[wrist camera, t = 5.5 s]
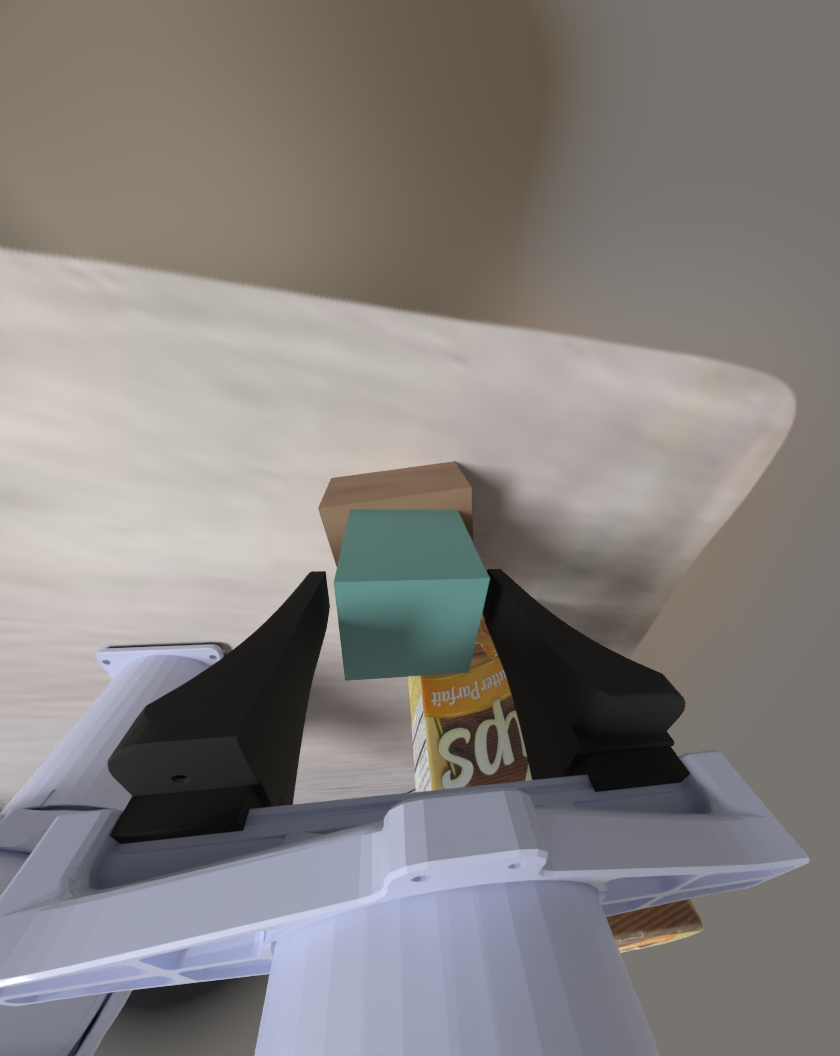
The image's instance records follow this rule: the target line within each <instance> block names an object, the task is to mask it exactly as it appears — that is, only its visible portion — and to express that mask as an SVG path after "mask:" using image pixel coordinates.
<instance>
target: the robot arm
mask: <svg viewBox="0 0 840 1056" xmlns="http://www.w3.org/2000/svg"><path fill="white" fill-rule="evenodd" d="M487 573H488V575H489V577H490V581H489V585H488V589H487V594H486V598H485V603H484V607H483V616H484V620H485V624H486V626H487V629H488V631H489V634H490V636H491V639H492V641H493V644H494V646H495V649H496V651H497V654H498V656H499V659H500V661H501V664H502V666H503V669H504V672H505V675H506V678H507V681H508V685H509V688H510V691H511V695H512V698H513V702H514V706H515V710H516V713H517V717H518V721H519V725H520V729H521V733H522V737H523V741H524V746H525V750H526V754H527V759H528V764H529V768H530V773H531V778H532V780H530V781H520V782H510V783H501V784H491V785H481V786H471V787H461V788H452V789H442V790H432V791H422V792H412V793H403V794H393V795H383V796H373V797H363V798H353V799H344V800H334V801H324V802H314V803H304V804H295V805H293V798H294V791H295V783H296V776H297V768H298V762H299V755H300V748H301V741H302V735H303V729H304V723H305V717H306V711H307V705H308V699H309V694H310V688H311V684H312V680H313V676H314V672H315V669H316V665H317V661H318V658H319V654H320V651H321V647H322V643H323V640H324V636H325V632H326V629H327V622H328V616H329V608H330V605H329V596H328V588H327V580H326V571H323V572H310V573H309V574H308V575H307V576H306V578H305V579H304V580H303V581H302V582H301V584H300V585H299V586H298V587H297V589H296V590H295V591H294V592H293V593H292V594H291V596H290V597H289V598H288V599H287V600H286V601H285V602H284V603H283V604H282V606H281V607H280V608H279V609H278V610H277V611H276V612H275V613H274V614H273V615H272V616H271V617H270V618H269V619H268V620H267V621H266V622H265V623H264V624H263V625H262V626H261V627H260V628H259V629H257V630H256V631H255V632H254V633H253V634H252V635H251V636H249V637H248V638H247V639H246V640H245V641H244V642H242V643H241V644H240V645H239V646H237V647H236V648H235V649H233V650H232V651H231V652H229V653H228V654H227V655H226V656H224V655H223V652H222V650H221V648H220V647H219V646H218V645H215V644H207V645H182V646H156V647H131V648H105V649H101V650H99V651H98V652H97V653H96V654H95V657H96V659H97V660H98V661H99V663H100V664H101V665H102V667H103V668H104V669H105V671H106V672H107V674H108V675H109V676H110V678H111V679H112V681H111V682H110V683H109V685H108V686H107V687H106V688H105V689H104V691H103V692H102V693H101V694H100V695H99V696H98V698H97V699H96V700H95V701H94V702H93V704H92V705H91V706H90V707H89V708H88V710H87V711H86V712H85V713H84V714H83V715H82V717H81V718H80V719H79V720H78V721H77V723H76V724H75V725H74V726H73V727H72V729H71V730H70V731H69V732H68V733H67V735H66V736H65V737H64V738H63V739H62V740H61V742H60V743H59V744H58V745H57V746H56V748H55V749H54V750H53V751H52V752H51V754H50V755H49V756H48V757H47V758H46V759H45V761H44V762H43V763H42V764H41V765H40V767H39V768H38V769H37V770H36V771H35V773H34V774H33V775H32V776H31V777H30V778H29V780H28V781H27V782H26V783H25V784H24V786H23V787H22V788H21V789H20V790H19V792H18V793H17V794H16V795H15V796H14V797H13V799H12V800H11V801H10V802H9V803H8V805H7V806H6V807H5V808H4V809H3V811H2V812H1V813H0V1056H93V1054H94V1052H95V1051H96V1049H97V1047H98V1045H99V1044H100V1042H101V1040H102V1038H103V1037H104V1035H105V1033H106V1032H107V1030H108V1028H109V1027H110V1026H111V1024H112V1023H113V1021H114V1020H115V1018H116V1017H117V1015H118V1014H119V1012H120V1010H121V1009H122V1007H123V1005H124V1004H125V1002H126V1000H127V998H128V997H129V995H130V993H131V991H132V990H135V989H143V988H152V987H160V986H169V985H178V984H186V983H195V982H203V981H212V980H221V979H229V978H238V977H246V976H254V975H264V974H270V975H269V981H268V986H267V991H266V997H265V1003H264V1007H263V1013H262V1018H261V1024H260V1029H259V1034H258V1040H257V1045H256V1050H255V1056H660V1054H659V1051H658V1049H657V1046H656V1044H655V1041H654V1039H653V1036H652V1033H651V1031H650V1029H649V1026H648V1024H647V1021H646V1018H645V1016H644V1013H643V1010H642V1008H641V1005H640V1003H639V1000H638V998H637V995H636V993H635V990H634V987H633V985H632V982H631V980H630V977H629V975H628V972H627V970H626V967H625V965H624V962H623V959H622V957H621V954H620V952H619V949H618V947H617V944H616V941H615V939H614V936H613V934H612V931H611V929H610V926H609V924H608V921H607V918H606V917H607V916H612V915H616V914H621V913H625V912H630V911H635V910H639V909H644V908H649V907H653V906H658V905H662V904H667V903H672V902H676V901H681V900H686V899H691V898H695V897H700V896H705V895H711V894H717V893H722V892H728V891H733V890H739V889H745V888H750V887H753V886H755V885H758V884H760V883H762V882H765V881H767V880H769V879H772V878H774V877H777V876H778V875H781V874H783V873H786V872H788V871H791V870H793V869H795V868H797V867H800V866H802V865H805V864H807V863H809V857H808V856H807V855H806V854H805V853H804V851H803V850H802V849H801V848H800V847H799V845H798V844H797V843H796V842H795V841H794V840H793V838H792V837H791V836H790V835H789V834H788V833H787V831H786V830H785V829H784V828H783V826H782V825H781V824H780V823H779V822H778V821H777V819H776V818H775V817H774V816H773V815H772V813H771V812H770V811H769V810H768V809H767V808H766V806H765V805H764V804H763V803H762V802H761V801H760V799H759V798H758V797H757V796H756V794H755V793H754V792H753V791H752V790H751V788H750V787H749V786H748V785H747V784H746V783H745V781H744V780H743V779H742V778H741V777H740V775H739V774H738V773H737V772H736V771H735V770H734V769H733V767H732V766H731V765H730V764H729V762H728V761H727V760H726V759H725V758H724V757H723V755H722V754H721V753H720V752H719V751H716V750H713V751H702V752H692V753H687V754H683V755H681V756H679V757H678V756H677V755H676V753H675V752H674V751H673V749H672V748H671V746H673V745H674V741H673V739H672V738H671V737H670V735H669V734H668V733H667V730H668V729H669V728H670V727H671V726H672V724H673V723H674V722H675V721H676V720H677V719H678V718H679V717H680V715H681V714H682V713H683V711H684V708H685V700H684V698H683V697H682V696H681V694H680V693H679V692H678V691H677V690H676V689H675V688H674V686H673V685H672V684H671V683H670V682H669V681H668V680H667V679H666V678H665V676H664V675H663V674H662V673H659V672H657V671H654V670H652V669H650V668H648V667H645V666H643V665H641V664H638V663H636V662H634V661H632V660H630V659H628V658H626V657H624V656H622V655H620V654H618V653H616V652H614V651H612V650H610V649H608V648H606V647H604V646H602V645H600V644H599V643H597V642H595V641H593V640H592V639H590V638H588V637H587V636H585V635H583V634H582V633H580V632H578V631H577V630H575V629H574V628H572V627H571V626H569V625H568V624H566V623H565V622H563V621H562V620H560V619H559V618H558V617H556V616H555V615H554V614H552V613H551V612H550V611H548V610H547V609H546V608H544V607H543V606H542V605H541V604H539V603H538V602H537V601H536V600H535V599H533V598H532V597H531V596H530V595H529V594H528V593H526V592H525V591H524V590H523V589H522V588H521V587H520V586H519V585H518V584H516V583H515V582H514V581H513V580H512V579H511V578H510V577H509V576H508V575H506V574H505V573H504V572H503V571H502V570H501V569H487Z"/></svg>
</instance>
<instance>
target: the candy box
mask: <svg viewBox="0 0 840 1056" xmlns="http://www.w3.org/2000/svg"><path fill="white" fill-rule="evenodd" d="M408 683H409V697H410V710H411V725H412V742H413V758H414V771H415V788H416V792H422V791H432V790H442V789H452V788H461V787H471V786H481V785H491V784H501V783H510V782H520V781H530V780H532V778H531V773H530V768H529V764H528V759H527V754H526V750H525V746H524V741H523V737H522V733H521V729H520V725H519V721H518V717H517V713H516V710H515V706H514V702H513V698H512V695H511V691H510V688H509V685H508V681H507V678H506V675H505V672H504V669H503V666H502V664H501V661H500V659H499V656H498V654H497V651H496V649H495V646H494V644H493V641H492V639H491V636H490V634H489V631H488V629H487V626H486V624H485V620H484V616H483V612H482V616H481V621H480V625H479V630H478V634H477V639H476V643H475V648H474V652H473V657H472V661H471V666H470V670H469V673H455V674H439V675H424V676H408ZM606 918H607V921H608V924H609V926H610V929H611V931H612V934H613V936H614V939H615V941H616V944H617V947H618V949H619V952H620V953H622V952H627V951H632V950H637V949H643V948H647V947H651V946H655V945H660V944H664V943H668V942H671V941H674V940H678V939H681V938H685V937H688V936H691V935H694V934H696V933H699V932H700V931H702V930H704V925H703V923H702V921H701V919H700V917H699V915H698V913H697V912H696V910H695V908H694V906H693V905H692V903H691V901H690V899H686V900H681V901H676V902H672V903H667V904H662V905H658V906H653V907H649V908H644V909H639V910H635V911H630V912H625V913H621V914H616V915H612V916H607V917H606Z"/></svg>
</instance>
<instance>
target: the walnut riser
mask: <svg viewBox="0 0 840 1056" xmlns="http://www.w3.org/2000/svg"><path fill="white" fill-rule="evenodd" d="M318 509H319V512H320V515H321V518H322V522H323V525H324V528H325V531H326V534H327V537H328V541H329V544H330V547H331V550H332V553H333V556H334V560H335V563H336V566H338V561H339V557H340V552H341V548H342V543H343V539H344V534H345V529H346V525H347V520H348V516H349V511H350V510H458V512H459V514H460V516H461V518H462V520H463V522H464V524H465V527H466V529H467V531H468V533H469V535H470V537H471V539H472V541H473V530H472V486H471V485H470V483H469V482H468V480H467V479H466V477H465V476H464V474H463V473H462V471H461V470H460V468H459V467H458V465H457V463H456V462H455V461H454V462H447V463H440V464H432V465H425V466H418V467H410V468H403V469H396V470H388V471H381V472H374V473H366V474H359V475H352V476H344V477H337V478H331V480H330V483H329V485H328V487H327V490H326V492H325V494H324V496H323V499H322V501H321V503H320V505H319V508H318Z"/></svg>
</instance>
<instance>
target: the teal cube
mask: <svg viewBox="0 0 840 1056" xmlns="http://www.w3.org/2000/svg"><path fill="white" fill-rule="evenodd" d="M489 581H490V577H489V575H488V573H487V571H486V569H485V567H484V565H483V563H482V560H481V558H480V556H479V554H478V552H477V550H476V548H475V546H474V544H473V541H472V539H471V537H470V535H469V533H468V531H467V529H466V527H465V524H464V522H463V520H462V518H461V516H460V514H459V512H458V510H350V511H349V516H348V520H347V525H346V529H345V534H344V539H343V543H342V548H341V552H340V557H339V561H338V566H337V570H336V575H335V579H334V588H335V596H336V605H337V614H338V622H339V631H340V639H341V648H342V657H343V665H344V674H345V680H361V679H377V678H392V677H408V676H424V675H439V674H455V673H469V670H470V666H471V661H472V657H473V652H474V648H475V643H476V639H477V634H478V630H479V625H480V621H481V616H482V612H483V607H484V603H485V598H486V594H487V589H488V585H489Z"/></svg>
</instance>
